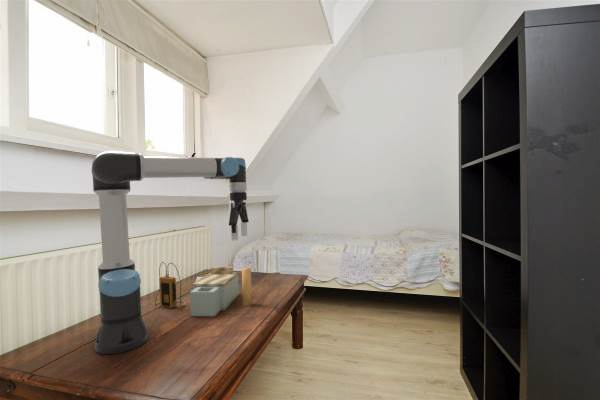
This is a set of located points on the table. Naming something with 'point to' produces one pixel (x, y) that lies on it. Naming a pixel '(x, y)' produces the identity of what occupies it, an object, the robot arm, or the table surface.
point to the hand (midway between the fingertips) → (239, 238)
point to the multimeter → (168, 290)
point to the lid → (217, 277)
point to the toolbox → (212, 298)
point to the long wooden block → (246, 287)
